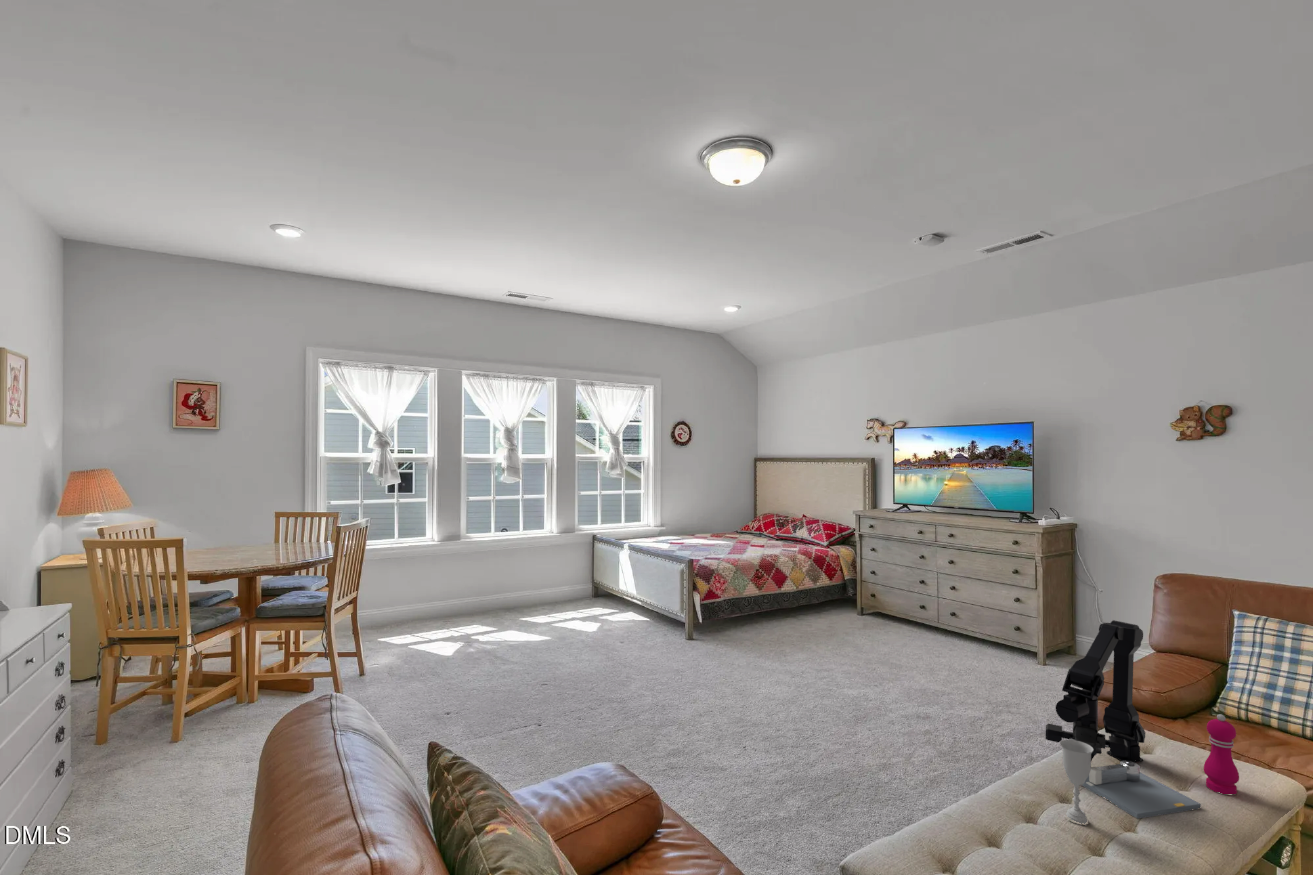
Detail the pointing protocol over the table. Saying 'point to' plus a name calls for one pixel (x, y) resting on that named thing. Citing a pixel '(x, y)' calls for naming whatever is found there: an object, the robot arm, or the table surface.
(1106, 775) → the lock lever
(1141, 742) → the robot arm
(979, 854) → the table surface
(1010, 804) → the table surface
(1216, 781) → the pepper mill
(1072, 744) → the chalice
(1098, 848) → the table surface
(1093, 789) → the mount board
